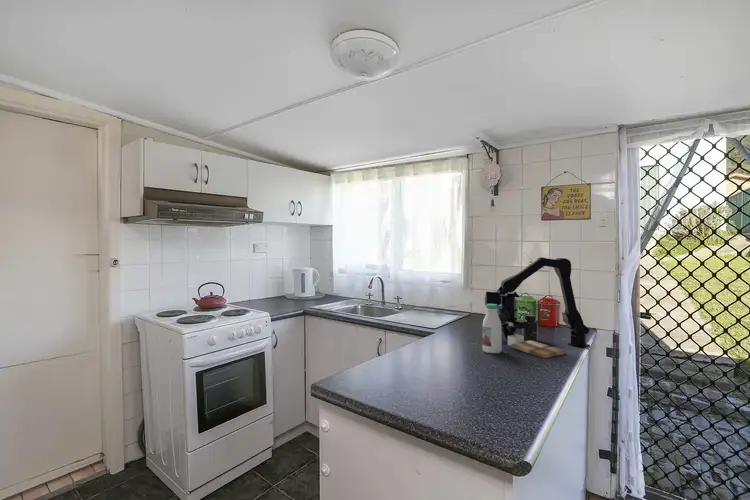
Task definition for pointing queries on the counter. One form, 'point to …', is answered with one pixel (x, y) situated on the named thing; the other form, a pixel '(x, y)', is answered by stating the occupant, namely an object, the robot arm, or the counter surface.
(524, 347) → the plank
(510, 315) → the robot arm
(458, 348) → the counter surface
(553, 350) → the floorboard
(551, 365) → the counter surface
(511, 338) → the block
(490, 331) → the milk bottle
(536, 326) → the supplement bottle
